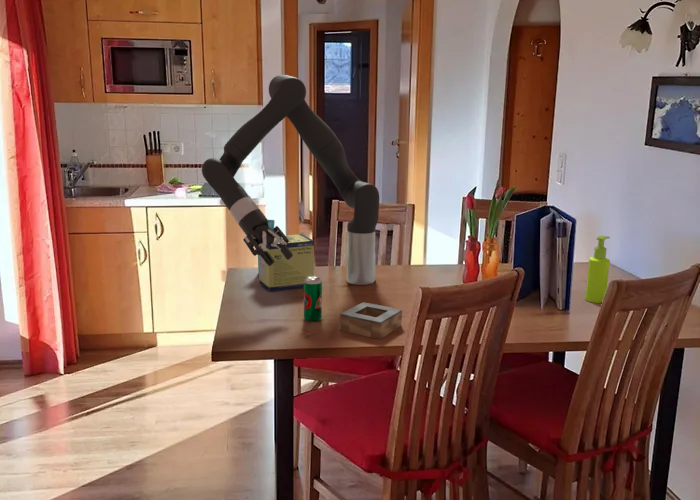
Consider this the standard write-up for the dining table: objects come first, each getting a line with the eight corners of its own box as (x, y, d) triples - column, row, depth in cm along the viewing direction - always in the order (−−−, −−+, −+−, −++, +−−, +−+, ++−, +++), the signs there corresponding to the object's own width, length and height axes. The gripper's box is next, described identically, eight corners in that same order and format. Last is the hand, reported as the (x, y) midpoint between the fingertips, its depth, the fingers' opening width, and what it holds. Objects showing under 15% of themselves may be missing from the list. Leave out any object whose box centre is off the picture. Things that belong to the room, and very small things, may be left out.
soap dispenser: (609, 299, 212) (616, 236, 207) (600, 304, 207) (607, 240, 202) (591, 295, 216) (597, 233, 211) (582, 300, 211) (588, 236, 206)
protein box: (314, 286, 221) (314, 240, 218) (269, 292, 215) (268, 244, 211) (302, 278, 231) (302, 233, 227) (258, 283, 224) (257, 237, 220)
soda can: (319, 323, 188) (319, 281, 185) (301, 321, 188) (301, 280, 186) (323, 317, 192) (323, 276, 190) (306, 316, 193) (306, 275, 190)
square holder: (363, 317, 192) (363, 302, 191) (401, 325, 186) (402, 309, 185) (340, 330, 182) (340, 313, 181) (380, 339, 176) (380, 322, 175)
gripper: (239, 212, 187) (273, 258, 184) (271, 204, 199) (303, 248, 196) (225, 228, 191) (258, 274, 188) (257, 220, 203) (289, 263, 200)
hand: (281, 260), depth 192 cm, fingers open, 8 cm apart
